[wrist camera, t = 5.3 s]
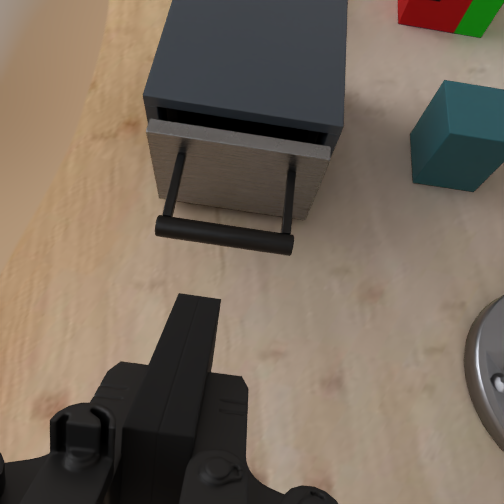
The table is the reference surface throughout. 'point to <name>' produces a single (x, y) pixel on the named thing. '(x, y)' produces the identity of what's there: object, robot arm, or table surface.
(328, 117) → the cabinet
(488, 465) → the table surface
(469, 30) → the puzzle toy
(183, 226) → the drawer
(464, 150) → the block
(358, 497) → the table surface
